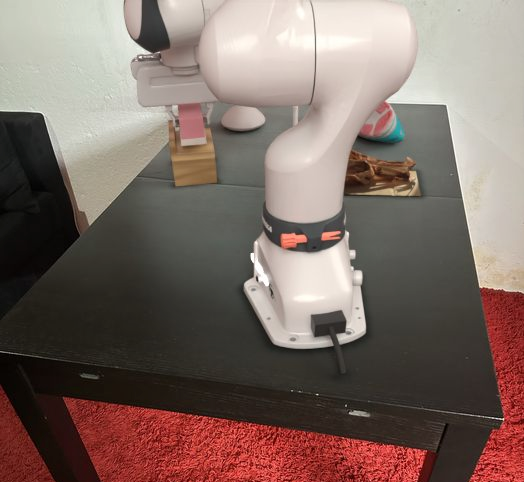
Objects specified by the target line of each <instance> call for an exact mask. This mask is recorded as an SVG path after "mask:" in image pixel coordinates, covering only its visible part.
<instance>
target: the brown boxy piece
mask: <svg viewBox="0 0 524 482" xmlns="http://www.w3.org/2000/svg"><path fill="white" fill-rule="evenodd" d="M167 122H168V125H167V126H168V145H169V146H168V147H169V152H170V160H171V165H172V171H173V179H174V186H175V187H184V186H185V187H186V186H196V185H197V186H198V185H206V184H217V183H218V175H217V164H216V163H217V162H216V152H215V147H214V146H215V145H214V141H213V136H212V131H211V128H210V127H208V128H207V127H206V128H204V129H205V134H206V142H207V144H200V145H188V146H181V138H180V130H176V127H173V120H172V119H168V120H167Z"/></svg>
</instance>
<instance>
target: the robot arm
mask: <svg viewBox="0 0 524 482" xmlns="http://www.w3.org/2000/svg"><path fill="white" fill-rule="evenodd" d="M123 18H124V24H125V28H126V30H127V33H128V35H129V37H130V38H131V40H132V41H133V42H134V43H135V44H137V45H138V46H139V47H141V48H142V49H143V50H145V51H146V52H148V54H144V53H139V54H137V55H136V56H135V57H134V58H132V59H131V62H130V70H131V75H132V77H133V79H134V80H136V95H137V102H138V105H140V106H141V107H142V108H155V107H157V108H158V107H164V110H165V112H166V114H167V115H168V116H169V118H170V120H173V127H175V128H180V124H179V115H176V114H175V113H174V111H173V106H178V105H183V104H196V103H201V104H206V108H207V109H206V111H205V113H202V115H203V123H204V126H209V125H211V121H210V117H211V115H212V112H213V110H214V108H215V106H214V103H222V104H228V105H232V106H234V105H238V106H245V107H253V108H256V109H263V108H264V109H265V108H281V107H293V106H298V107H299V106H309V108H308V110H307V111H306V113H305V114H304V116H303V117H302V118H301V119H300V121H298V123H297V124H296V125H295V126H293V125H292V127H290V128H288V129H286V130H285V131H283V132H281V133H280V134H278V136H276V137H275V138H274V139H273V141H272V142H271V143H270V144H269V146H268V147H267V150H266V152H265V155H264V160H263V162H264V165H263V166H264V195H265V197H264V199H265V200H264V201H263V203H262V212H261V220H262V229H263V230H262V233H260V234H259V236H258V237H257V238H256V239H255V241H254V242H253V252H252V253H250V259H251V261H252V263H253V277H251V278H250V279H247V280H246V281H245V282H244V283H243V292H244V294H245V296H246V298H247V299H248V302H249V303H250V305H251V307H252V309H253V311H254V313H255V314H256V316H257V318H258V319H259V322H260V323H261V325H262V327H263V329H264V330H265V333H266V335H267V336H268V338H269V340H270V342H271V343H272V344H273V345H275V346H278V347H282V348H287V349H294V350H295V349H296V350H298V349H299V350H307V349H309V350H310V349H320V348H328V347H333V349H334V352H335V356H336V359H337V364H338V368H339V374H341V375H342V374H346V373H347V369H346V363H345V358H344V357H345V356H344V354H343V350H342V347H341V345H344V344H348V343H350V342H354V341H356V340H358V339H360V338H361V337H363V336H364V335H365V334H366V333H367V322H366V317H365V310H364V309H365V308H364V302H363V295H362V289H361V286H362V285H363V271H362V269H355V268H354V266H352V265H351V260H355V259H356V250H355V249H350V246H349V238H350V232H349V231H348V230H346V223H347V215H346V214H347V213H346V206H345V205H346V204H345V202H344V194H343V192H344V184H345V177H346V170H347V165H348V159H349V155H350V152H351V149H352V150H353V146H354V143H355V141H356V140H357V138H358V134H359V132H360V130H361V128H362V127H363V126H364V124H365V123H366V121H367V120H368V119H369V117H370V116H371V115H372V114H373V112H374V111H375V110H376V109H377V108H378V107H379V106H380V105H381V104H382V103H383V102H384V101H386V102H387V100H388V99H390V98H391V97H392V96H394V95H395V94H396V93H398V92H399V91H400V90H401V89H402V88H403V86H404V85H405V84H406V82H407V81H408V79H409V77H410V76H411V74H412V72H413V70H414V67H415V64H416V61H417V56H418V49H419V38H418V37H419V36H418V31H417V27H416V23H415V21H414V19H413V16H412V14H411V13H410V11H409V9H408V8H407V7H406V6H405V4H403V3H401V2H396V1H392V0H123Z"/></svg>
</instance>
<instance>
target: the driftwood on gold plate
mask: <svg viewBox="0 0 524 482" xmlns="http://www.w3.org/2000/svg"><path fill="white" fill-rule="evenodd" d="M414 166H417V163H416V162H415V160H414V159H413V158H410V157H409V156H406V161H404V160H401V161H399V160H394V161H393V160H383V159H379V158H375V157H372V156H369V155H366V154H362V152H359V151H356V150H354V149H353V148H352V149H351V152H350V155H349V159H348V165H347V170H346V177H345V184H344V192H343V195H356V196H357V195H359V196H360V195H361V196H363V195H367V196H369V195H370V196H392V197H395V196H399V197H400V196H403V197H405V196H406V197H407V196H408V197H421V196H422V193H421V189H420V188H419V179H418V175H417V171H416V170H412V169H413V168H414Z"/></svg>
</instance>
